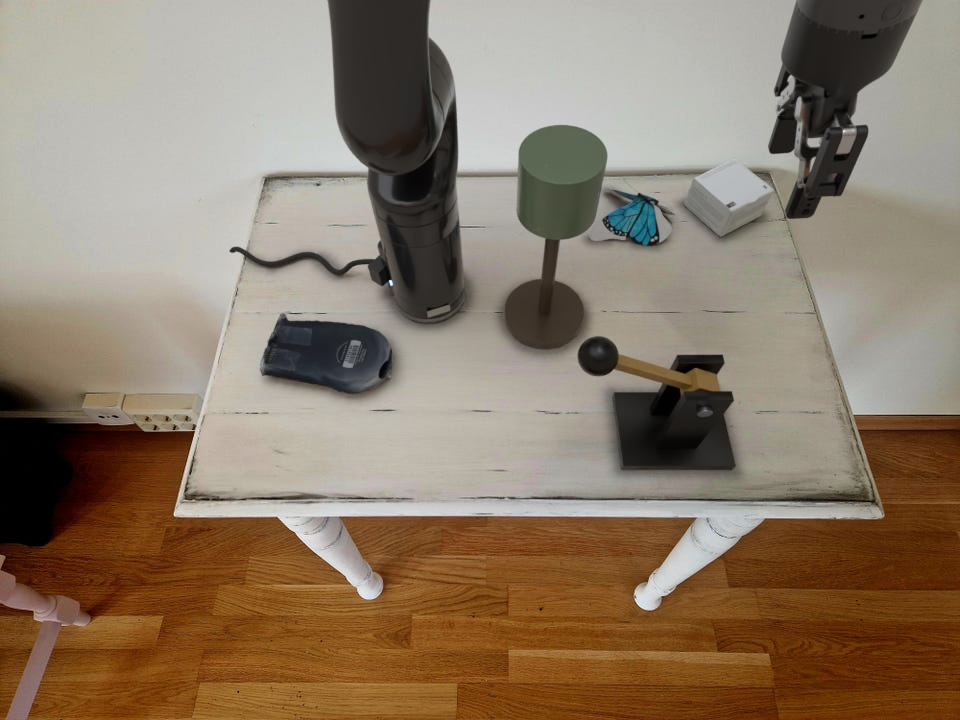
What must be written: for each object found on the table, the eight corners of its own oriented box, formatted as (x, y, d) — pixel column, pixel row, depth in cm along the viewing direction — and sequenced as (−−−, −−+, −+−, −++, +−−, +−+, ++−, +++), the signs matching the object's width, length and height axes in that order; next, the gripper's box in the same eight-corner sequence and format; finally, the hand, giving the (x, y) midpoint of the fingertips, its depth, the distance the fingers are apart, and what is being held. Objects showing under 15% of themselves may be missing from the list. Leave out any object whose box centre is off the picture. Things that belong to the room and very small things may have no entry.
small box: (722, 184, 85) (735, 156, 80) (761, 217, 81) (776, 189, 77) (682, 204, 83) (692, 176, 78) (719, 239, 79) (732, 211, 75)
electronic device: (269, 394, 70) (383, 401, 67) (248, 366, 66) (369, 372, 63) (297, 337, 76) (403, 341, 73) (280, 308, 72) (392, 311, 68)
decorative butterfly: (675, 238, 74) (605, 207, 74) (652, 266, 80) (586, 238, 80) (688, 186, 79) (622, 157, 79) (665, 216, 85) (603, 189, 84)
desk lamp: (489, 323, 73) (485, 161, 51) (533, 274, 77) (548, 104, 55) (554, 363, 70) (579, 208, 48) (597, 310, 74) (639, 144, 52)
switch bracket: (621, 469, 63) (647, 420, 52) (612, 396, 67) (634, 337, 56) (731, 470, 62) (782, 420, 51) (715, 396, 67) (758, 336, 56)
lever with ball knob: (571, 378, 51) (595, 359, 48) (568, 343, 52) (591, 324, 50) (699, 412, 56) (728, 398, 53) (693, 380, 58) (720, 365, 55)
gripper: (779, -48, 43) (733, 135, 57) (822, 61, 36) (757, 242, 49) (890, -62, 42) (815, 129, 55) (958, 48, 34) (853, 238, 48)
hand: (788, 182), depth 52 cm, fingers open, 8 cm apart
